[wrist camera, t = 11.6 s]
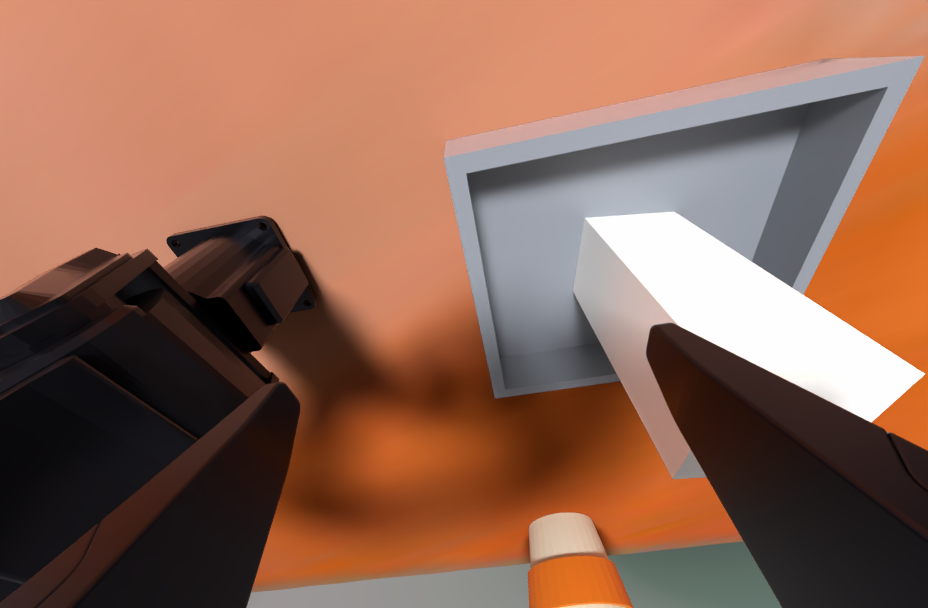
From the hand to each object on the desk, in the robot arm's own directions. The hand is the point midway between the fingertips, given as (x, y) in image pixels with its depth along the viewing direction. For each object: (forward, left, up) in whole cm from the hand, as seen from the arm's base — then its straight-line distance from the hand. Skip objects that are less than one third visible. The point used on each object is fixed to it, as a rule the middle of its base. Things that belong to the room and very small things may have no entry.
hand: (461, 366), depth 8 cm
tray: (+9, -5, -13) cm, 17 cm away
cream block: (+9, -5, -12) cm, 16 cm away
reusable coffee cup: (+5, -48, -13) cm, 50 cm away
